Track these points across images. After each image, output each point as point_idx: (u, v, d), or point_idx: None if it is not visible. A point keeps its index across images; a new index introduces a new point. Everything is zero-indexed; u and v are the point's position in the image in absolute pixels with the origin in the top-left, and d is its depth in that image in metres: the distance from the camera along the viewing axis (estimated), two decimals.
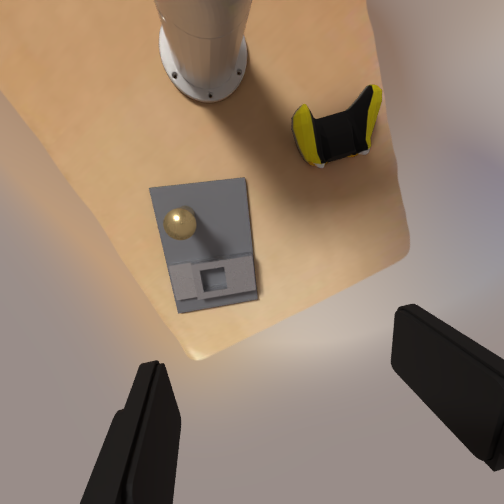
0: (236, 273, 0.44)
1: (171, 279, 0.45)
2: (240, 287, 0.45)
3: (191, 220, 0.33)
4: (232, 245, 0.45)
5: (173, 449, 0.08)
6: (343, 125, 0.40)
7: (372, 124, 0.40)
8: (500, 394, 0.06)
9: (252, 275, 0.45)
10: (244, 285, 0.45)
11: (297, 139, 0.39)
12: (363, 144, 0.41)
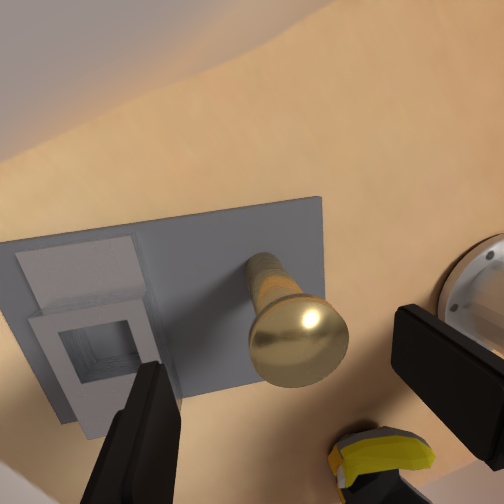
0: None
1: (87, 234, 0.16)
2: (89, 409, 0.18)
3: (311, 375, 0.11)
4: (194, 360, 0.21)
5: (173, 449, 0.08)
6: (387, 486, 0.27)
7: None
8: (500, 394, 0.06)
9: None
10: (96, 416, 0.18)
11: (378, 439, 0.25)
12: None
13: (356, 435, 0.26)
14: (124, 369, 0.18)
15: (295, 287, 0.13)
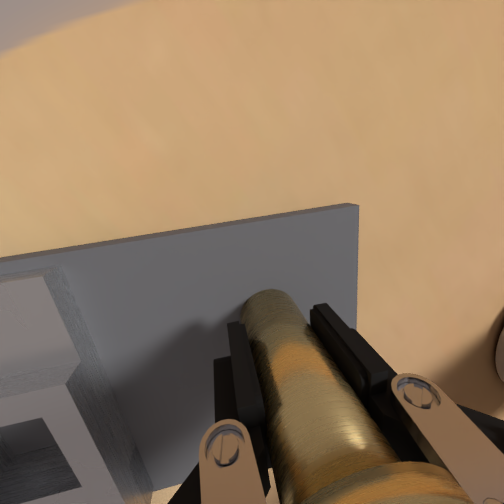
0: None
1: None
2: None
3: None
4: (167, 443, 0.14)
5: None
6: None
7: None
8: (359, 381, 0.07)
9: None
10: None
11: None
12: None
13: None
14: (50, 481, 0.11)
15: (343, 388, 0.07)
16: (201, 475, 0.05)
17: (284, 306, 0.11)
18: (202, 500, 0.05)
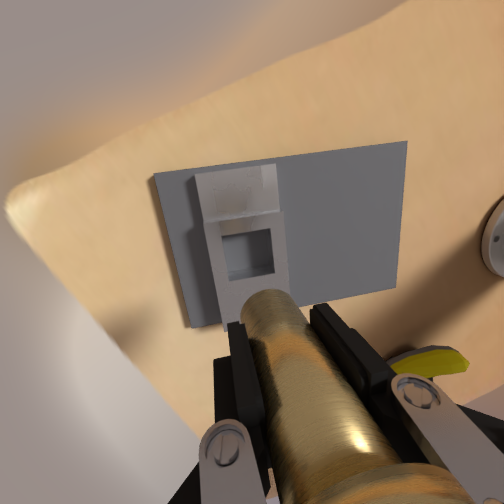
0: None
1: (238, 165, 0.21)
2: (230, 304, 0.23)
3: None
4: (297, 276, 0.26)
5: None
6: None
7: None
8: (359, 381, 0.07)
9: None
10: (233, 311, 0.23)
11: (421, 354, 0.30)
12: None
13: (401, 354, 0.32)
14: (256, 273, 0.23)
15: (343, 388, 0.07)
16: (201, 475, 0.05)
17: (284, 306, 0.10)
18: (202, 500, 0.05)
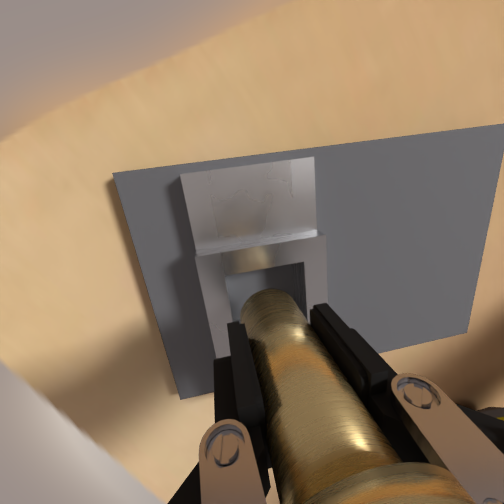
0: None
1: (251, 159, 0.13)
2: None
3: None
4: None
5: None
6: None
7: None
8: (359, 381, 0.07)
9: None
10: None
11: None
12: None
13: None
14: None
15: (343, 388, 0.07)
16: (201, 475, 0.05)
17: (284, 306, 0.10)
18: (202, 500, 0.05)
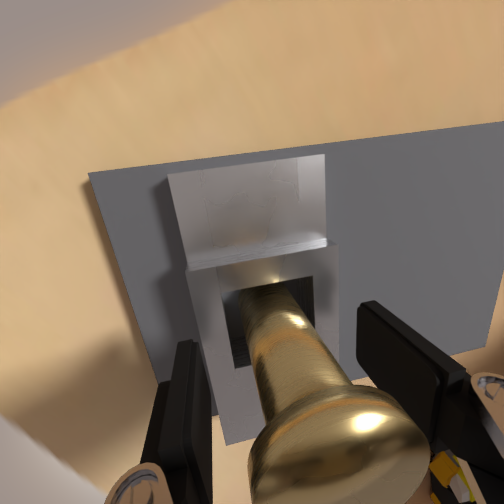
0: None
1: (251, 157, 0.12)
2: (236, 405, 0.13)
3: None
4: (343, 339, 0.16)
5: (208, 418, 0.09)
6: None
7: None
8: (433, 381, 0.07)
9: None
10: (242, 414, 0.13)
11: None
12: None
13: None
14: None
15: (320, 347, 0.08)
16: None
17: (276, 289, 0.12)
18: None
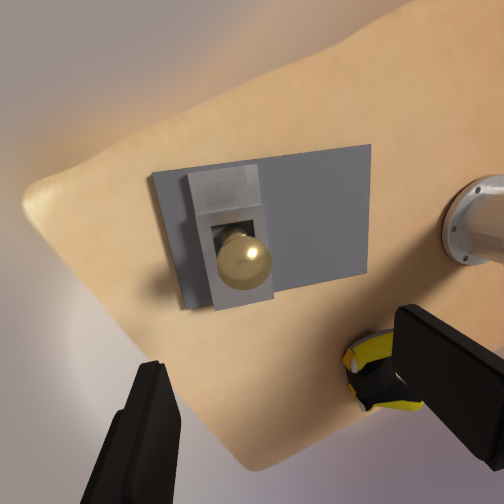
0: None
1: (225, 165, 0.25)
2: (219, 286, 0.26)
3: (252, 282, 0.20)
4: (279, 263, 0.29)
5: (173, 449, 0.08)
6: (386, 378, 0.37)
7: (387, 406, 0.37)
8: (500, 394, 0.06)
9: (240, 302, 0.27)
10: (222, 292, 0.27)
11: (380, 336, 0.34)
12: (369, 404, 0.37)
13: (364, 337, 0.35)
14: None
15: None
16: None
17: (237, 227, 0.25)
18: None
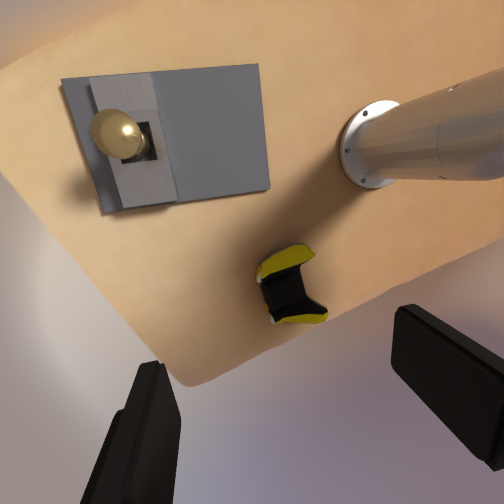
0: (148, 178, 0.31)
1: None
2: (125, 184, 0.31)
3: (125, 151, 0.24)
4: (186, 173, 0.34)
5: (173, 449, 0.08)
6: (294, 294, 0.41)
7: (296, 320, 0.41)
8: (500, 394, 0.06)
9: (147, 201, 0.32)
10: (129, 190, 0.31)
11: (282, 250, 0.38)
12: (278, 317, 0.41)
13: (271, 254, 0.39)
14: None
15: None
16: None
17: None
18: None
